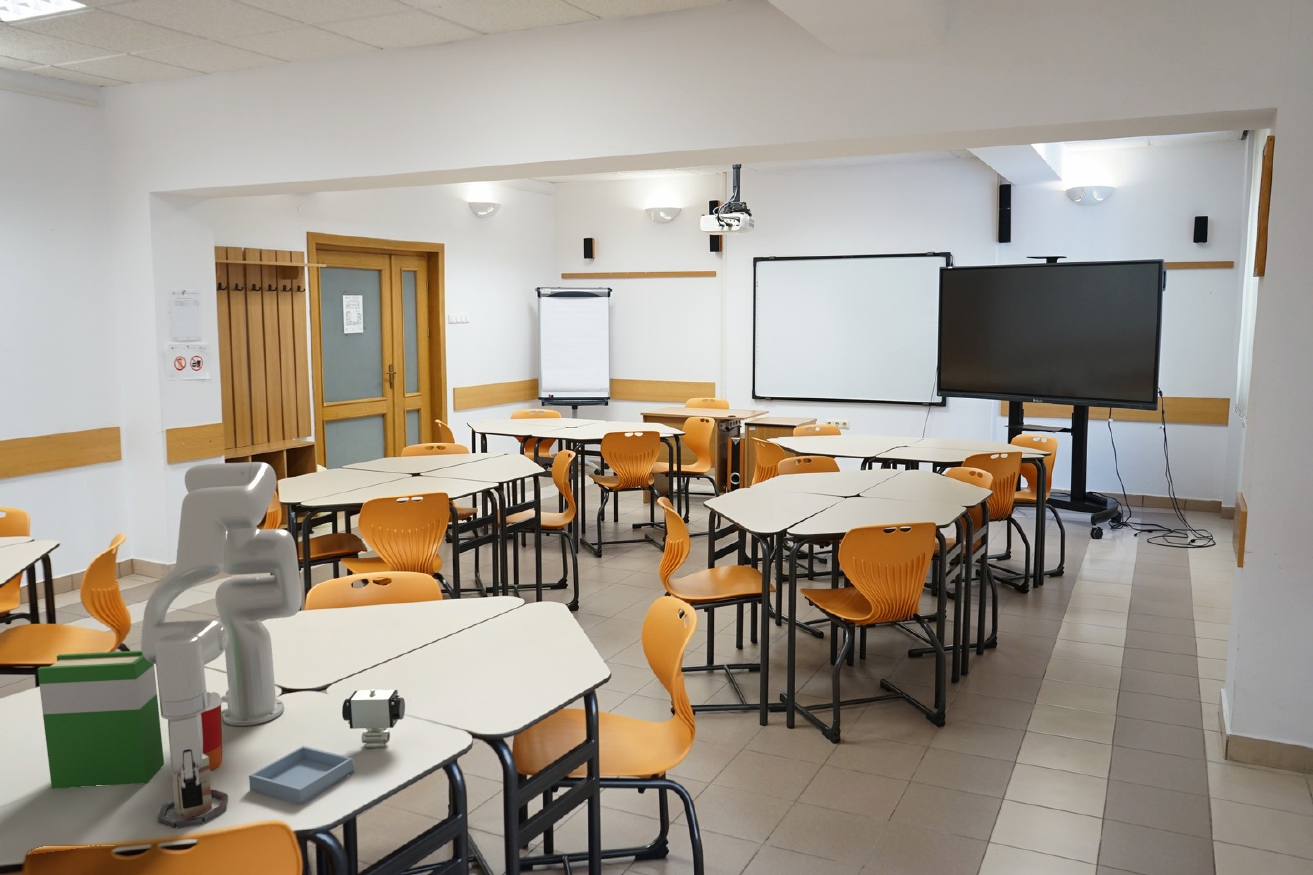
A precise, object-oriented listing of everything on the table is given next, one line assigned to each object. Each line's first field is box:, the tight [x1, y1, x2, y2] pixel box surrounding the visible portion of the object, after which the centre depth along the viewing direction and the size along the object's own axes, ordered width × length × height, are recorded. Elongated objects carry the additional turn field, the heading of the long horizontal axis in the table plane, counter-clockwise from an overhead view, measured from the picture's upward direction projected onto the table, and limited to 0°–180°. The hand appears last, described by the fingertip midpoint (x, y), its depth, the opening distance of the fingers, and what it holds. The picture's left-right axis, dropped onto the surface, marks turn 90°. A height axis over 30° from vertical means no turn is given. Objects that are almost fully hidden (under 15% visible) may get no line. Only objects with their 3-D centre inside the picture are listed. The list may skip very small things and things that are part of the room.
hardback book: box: [37, 650, 165, 790], centre depth 183 cm, size 18×7×24 cm, turn 94°
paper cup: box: [201, 691, 224, 771], centre depth 187 cm, size 8×8×14 cm
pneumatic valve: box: [341, 688, 406, 749], centre depth 195 cm, size 6×12×12 cm, turn 90°
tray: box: [248, 745, 355, 806], centre depth 181 cm, size 13×13×3 cm
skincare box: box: [171, 753, 213, 819], centre depth 170 cm, size 5×4×10 cm
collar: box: [157, 788, 229, 829], centre depth 171 cm, size 11×11×1 cm
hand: (193, 796), depth 171 cm, fingers closed on skincare box, 5 cm apart
